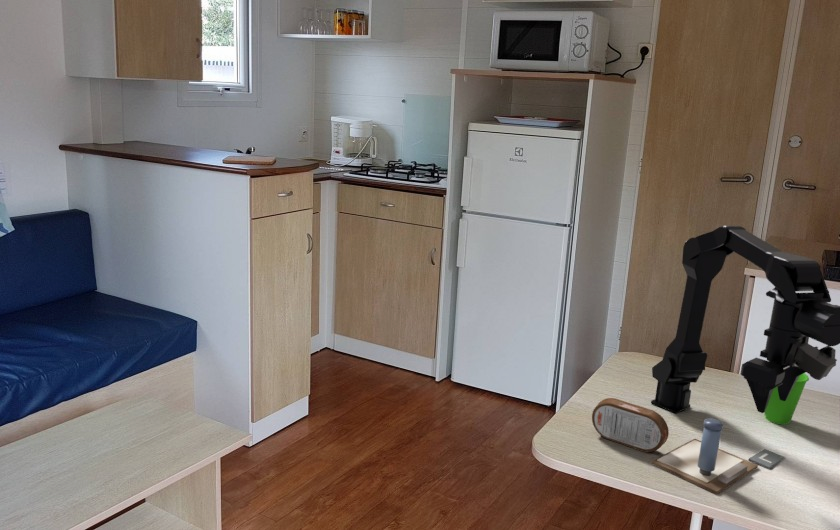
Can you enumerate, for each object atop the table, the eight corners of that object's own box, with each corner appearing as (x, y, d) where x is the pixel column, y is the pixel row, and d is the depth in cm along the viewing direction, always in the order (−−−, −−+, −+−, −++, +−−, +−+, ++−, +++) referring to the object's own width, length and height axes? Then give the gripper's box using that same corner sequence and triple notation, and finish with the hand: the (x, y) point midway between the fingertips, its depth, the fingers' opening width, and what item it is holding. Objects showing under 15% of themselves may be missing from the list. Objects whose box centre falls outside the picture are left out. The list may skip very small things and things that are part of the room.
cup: (805, 431, 154) (815, 383, 152) (760, 425, 156) (769, 378, 153) (793, 414, 163) (802, 368, 160) (750, 408, 165) (758, 363, 162)
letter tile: (748, 460, 140) (748, 458, 140) (764, 450, 144) (764, 448, 144) (768, 469, 137) (769, 466, 137) (784, 458, 142) (785, 456, 141)
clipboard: (651, 463, 136) (652, 456, 136) (694, 441, 147) (695, 434, 146) (716, 494, 127) (717, 486, 127) (757, 468, 137) (759, 460, 137)
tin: (666, 453, 141) (672, 414, 139) (661, 459, 138) (667, 419, 136) (593, 429, 149) (598, 392, 147) (587, 434, 147) (592, 396, 145)
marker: (692, 471, 133) (701, 421, 130) (701, 466, 135) (709, 416, 132) (708, 479, 130) (717, 427, 128) (717, 474, 132) (726, 423, 130)
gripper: (813, 350, 118) (795, 436, 122) (854, 330, 130) (837, 409, 134) (746, 330, 126) (732, 412, 130) (791, 314, 138) (777, 389, 142)
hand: (772, 406), depth 134 cm, fingers open, 9 cm apart
